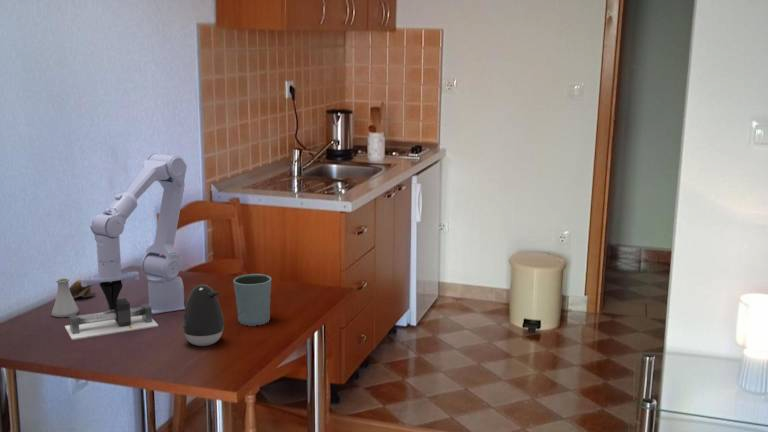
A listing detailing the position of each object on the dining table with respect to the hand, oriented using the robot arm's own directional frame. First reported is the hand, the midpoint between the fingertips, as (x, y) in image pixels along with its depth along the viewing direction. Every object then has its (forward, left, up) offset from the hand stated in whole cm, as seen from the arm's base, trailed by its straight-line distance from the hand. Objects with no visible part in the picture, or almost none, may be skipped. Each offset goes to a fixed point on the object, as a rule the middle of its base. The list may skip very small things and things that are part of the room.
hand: (112, 308), depth 221 cm
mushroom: (+2, -31, -5) cm, 32 cm away
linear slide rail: (0, 0, -5) cm, 5 cm away
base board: (0, 0, -5) cm, 5 cm away
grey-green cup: (-35, +13, -5) cm, 37 cm away
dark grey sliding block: (-3, 0, -5) cm, 6 cm away
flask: (+9, -17, -5) cm, 20 cm away
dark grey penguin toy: (-18, +23, -5) cm, 29 cm away
